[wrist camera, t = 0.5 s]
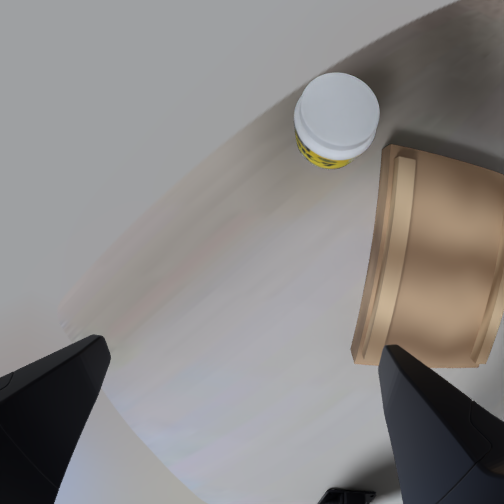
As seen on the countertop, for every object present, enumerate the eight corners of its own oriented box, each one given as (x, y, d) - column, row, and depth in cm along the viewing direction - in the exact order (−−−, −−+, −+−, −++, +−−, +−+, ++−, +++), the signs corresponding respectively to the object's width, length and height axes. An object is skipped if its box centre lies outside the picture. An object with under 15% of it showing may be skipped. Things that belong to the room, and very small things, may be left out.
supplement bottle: (283, 140, 22) (270, 107, 14) (323, 98, 21) (332, 48, 12) (331, 183, 22) (347, 173, 13) (371, 140, 21) (405, 109, 12)
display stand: (466, 355, 22) (483, 374, 18) (350, 349, 23) (356, 371, 20) (502, 180, 19) (526, 179, 15) (381, 149, 20) (395, 140, 17)
